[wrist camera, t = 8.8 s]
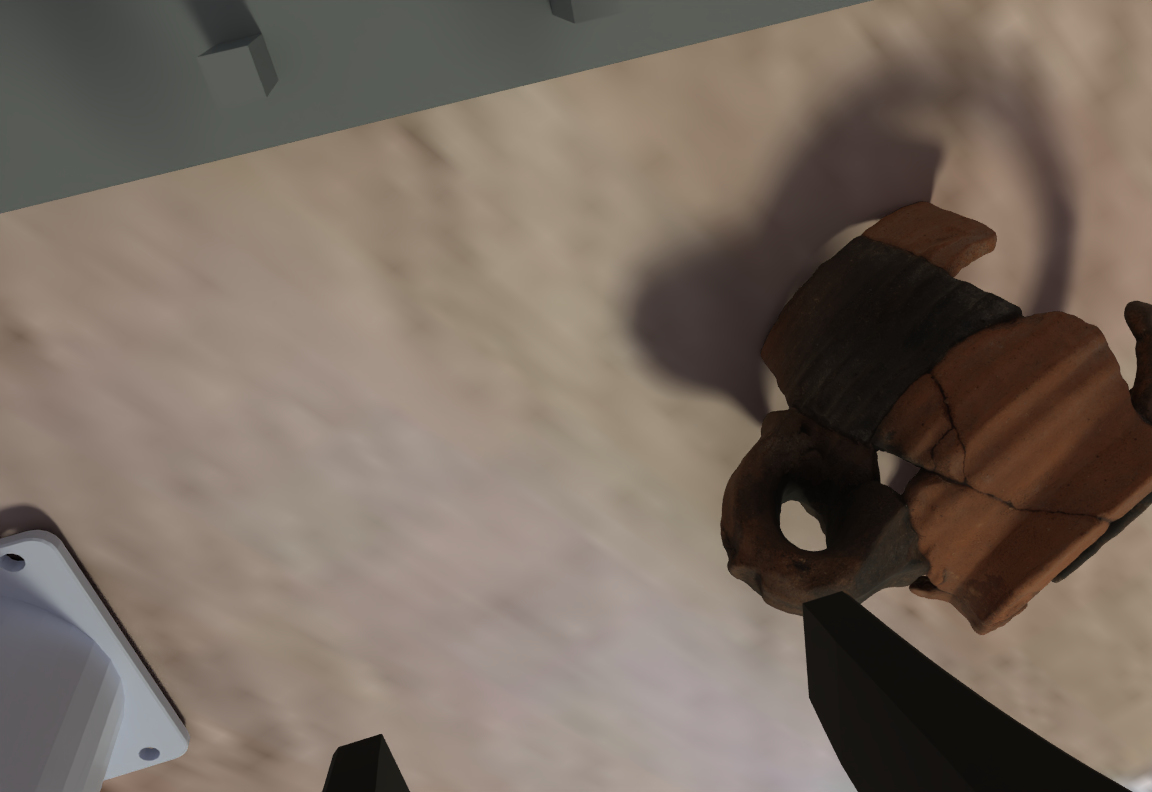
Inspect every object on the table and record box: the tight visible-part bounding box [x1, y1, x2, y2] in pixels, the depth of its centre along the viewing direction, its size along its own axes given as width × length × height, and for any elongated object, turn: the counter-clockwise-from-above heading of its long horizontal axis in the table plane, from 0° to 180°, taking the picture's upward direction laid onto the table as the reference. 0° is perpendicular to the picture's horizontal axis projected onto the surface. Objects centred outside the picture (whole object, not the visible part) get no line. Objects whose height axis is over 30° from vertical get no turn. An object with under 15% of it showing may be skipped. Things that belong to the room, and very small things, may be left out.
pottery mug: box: [720, 201, 1152, 635], centre depth 21 cm, size 12×10×8 cm
